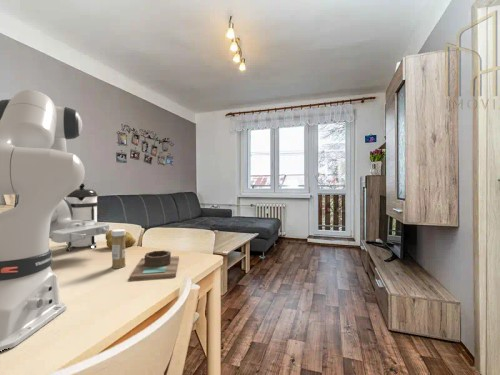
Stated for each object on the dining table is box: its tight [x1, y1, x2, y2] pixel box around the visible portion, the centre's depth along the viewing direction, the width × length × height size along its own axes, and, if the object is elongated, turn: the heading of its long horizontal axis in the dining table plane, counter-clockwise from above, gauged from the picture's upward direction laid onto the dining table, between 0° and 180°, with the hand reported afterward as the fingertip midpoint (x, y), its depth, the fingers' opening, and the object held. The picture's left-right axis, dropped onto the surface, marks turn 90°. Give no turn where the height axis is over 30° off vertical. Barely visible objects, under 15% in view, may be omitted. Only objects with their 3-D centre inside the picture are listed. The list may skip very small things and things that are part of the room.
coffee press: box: [64, 183, 99, 252], centre depth 117 cm, size 17×16×30 cm
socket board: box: [129, 250, 180, 281], centre depth 89 cm, size 19×14×5 cm
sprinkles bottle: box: [111, 228, 127, 269], centre depth 91 cm, size 5×5×14 cm
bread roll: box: [105, 229, 137, 250], centre depth 118 cm, size 13×10×8 cm
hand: (95, 234), depth 96 cm, fingers open, 8 cm apart
